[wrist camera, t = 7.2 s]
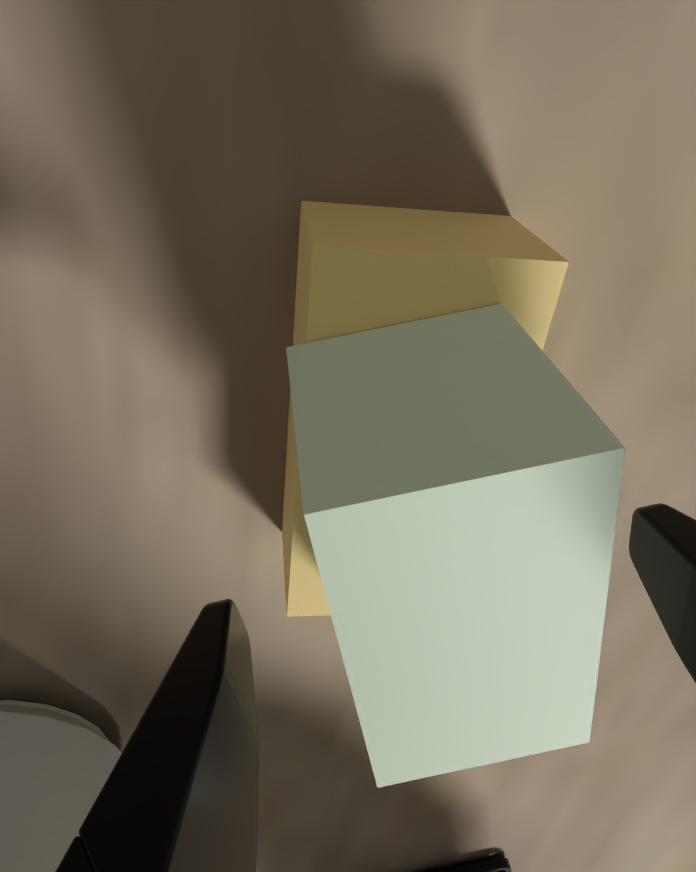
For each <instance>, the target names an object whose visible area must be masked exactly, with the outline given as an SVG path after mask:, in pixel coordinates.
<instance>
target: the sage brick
mask: <svg viewBox="0 0 696 872" xmlns="http://www.w3.org/2000/svg"><path fill="white" fill-rule="evenodd" d="M286 352H287V361H288V371H289V380H290V389H291V399H292V408H293V417H294V427H295V436H296V445H297V455H298V464H299V474H300V483H301V492H302V502H303V511H304V517H305V521H306V524H307V528H308V532H309V536H310V539H311V543H312V547H313V550H314V554H315V558H316V561H317V565H318V569H319V573H320V576H321V580H322V584H323V587H324V591H325V595H326V599H327V602H328V606H329V610H330V613H331V617H332V621H333V625H334V628H335V632H336V636H337V639H338V643H339V647H340V650H341V654H342V658H343V662H344V665H345V669H346V673H347V676H348V680H349V684H350V688H351V691H352V695H353V699H354V702H355V706H356V710H357V713H358V717H359V721H360V725H361V728H362V732H363V736H364V739H365V743H366V747H367V751H368V754H369V758H370V762H371V765H372V769H373V773H374V777H375V780H376V784H377V788H379V787H384V786H389V785H393V784H398V783H403V782H407V781H412V780H417V779H421V778H426V777H431V776H435V775H440V774H444V773H449V772H454V771H458V770H463V769H468V768H472V767H477V766H482V765H486V764H491V763H496V762H500V761H505V760H509V759H514V758H519V757H523V756H528V755H533V754H537V753H542V752H547V751H551V750H556V749H560V748H565V747H570V746H574V745H579V744H584V743H588V742H590V733H591V725H592V717H593V709H594V701H595V692H596V684H597V676H598V668H599V659H600V651H601V643H602V635H603V626H604V618H605V610H606V602H607V593H608V585H609V577H610V569H611V560H612V552H613V544H614V536H615V527H616V519H617V511H618V503H619V494H620V486H621V478H622V470H623V462H624V453H625V447H624V446H623V445H622V444H621V442H620V441H619V440H618V439H617V438H616V437H615V435H614V434H613V433H612V432H611V431H610V429H609V428H608V427H607V426H606V425H605V424H604V422H603V421H602V420H601V419H600V418H599V417H598V415H597V414H596V413H595V412H594V411H593V410H592V408H591V407H590V406H589V405H588V404H587V403H586V401H585V400H584V399H583V398H582V397H581V395H580V394H579V393H578V392H577V391H576V390H575V388H574V387H573V386H572V385H571V384H570V383H569V381H568V380H567V379H566V378H565V377H564V376H563V374H562V373H561V372H560V371H559V370H558V369H557V367H556V366H555V365H554V364H553V363H552V362H551V360H550V359H549V358H548V357H547V356H546V354H545V353H544V352H543V351H542V350H541V349H540V347H539V346H538V345H537V344H536V343H535V342H534V340H533V339H532V338H531V337H530V336H529V335H528V333H527V332H526V331H525V330H524V329H523V328H522V326H521V325H520V324H519V323H518V322H517V320H516V319H515V318H514V317H513V316H512V315H511V313H510V312H509V311H508V310H507V309H506V308H505V306H504V305H503V304H502V303H501V304H496V305H491V306H486V307H481V308H476V309H472V310H467V311H462V312H457V313H452V314H447V315H442V316H437V317H432V318H427V319H423V320H418V321H413V322H408V323H403V324H398V325H393V326H388V327H383V328H378V329H374V330H369V331H364V332H359V333H354V334H349V335H344V336H339V337H334V338H329V339H325V340H320V341H315V342H310V343H305V344H300V345H295V346H290V347H286Z"/></svg>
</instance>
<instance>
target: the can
mask: <svg viewBox="0 0 696 872" xmlns="http://www.w3.org/2000/svg"><path fill="white" fill-rule="evenodd" d="M121 754H122V753H121V752H120V750H119V749H118V748H117V747H116V746H115V745H114V744H113V743H111V742H110V741H109V739H108V738H107V737H106V736H105V735H104V733H103V732H102V731H101V730H100V728H99V727H97V726H96V725H94V724H92V723H91V722H89V721H87V720H86V719H84V718H82V717H81V716H79V715H77V714H75V713H72V712H69V711H66V710H63V709H60V708H57V707H53V706H50V705H47V704H40V703H32V702H24V701H16V700H1V701H0V872H55V871H56V869H57V868H58V866H59V864H60V862H61V861H62V859H63V857H64V855H65V853H66V852H67V850H68V848H69V846H70V844H71V843H72V841H73V839H74V838H75V837H76V836H80V835H79V829H80V827H81V825H82V823H83V822H84V820H85V818H86V816H87V815H88V813H89V811H90V809H91V807H92V806H93V804H94V802H95V800H96V798H97V797H98V795H99V793H100V791H101V789H102V788H103V786H104V784H105V782H106V781H107V779H108V777H109V775H110V773H111V772H112V770H113V768H114V766H115V764H116V763H117V761H118V759H119V757H120V755H121Z"/></svg>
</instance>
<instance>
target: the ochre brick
mask: <svg viewBox="0 0 696 872" xmlns="http://www.w3.org/2000/svg"><path fill="white" fill-rule="evenodd" d="M568 263H569V262H568V261H567V260H566V259H565V258H563V257H562V256H561V255H559V254H558V253H557V252H556V251H554V250H553V249H552V248H551V247H549V246H548V245H547V244H546V243H544V242H543V241H542V240H541V239H539V238H538V237H537V236H535V235H534V234H533V233H532V232H530V231H529V230H528V229H527V228H525V227H524V226H523V225H522V224H520V223H519V222H518V221H517V220H515V219H514V218H513V217H511V216H505V215H491V214H477V213H463V212H450V211H436V210H422V209H408V208H395V207H381V206H367V205H353V204H340V203H326V202H312V201H301V212H300V229H299V247H298V264H297V281H296V299H295V316H294V333H293V346H295V345H300V344H305V343H310V342H315V341H320V340H325V339H329V338H334V337H339V336H344V335H349V334H354V333H359V332H364V331H369V330H374V329H378V328H383V327H388V326H393V325H398V324H403V323H408V322H413V321H418V320H423V319H427V318H432V317H437V316H442V315H447V314H452V313H457V312H462V311H467V310H472V309H476V308H481V307H486V306H491V305H496V304H501V303H502V304H503V305H504V306H505V308H506V309H507V310H508V311H509V312H510V313H511V315H512V316H513V317H514V318H515V319H516V320H517V322H518V323H519V324H520V325H521V326H522V328H523V329H524V330H525V331H526V332H527V333H528V335H529V336H530V337H531V338H532V339H533V340H534V342H535V343H536V344H537V345H538V346H539V347H540V349H541V350H542V351H543V347H544V344H545V340H546V337H547V334H548V330H549V327H550V324H551V320H552V317H553V314H554V310H555V307H556V304H557V300H558V297H559V294H560V290H561V287H562V283H563V280H564V277H565V273H566V270H567V267H568ZM282 540H283V557H284V574H285V592H286V609H287V617H288V616H318V615H331V613H330V610H329V606H328V602H327V599H326V595H325V591H324V587H323V584H322V580H321V576H320V573H319V569H318V565H317V561H316V558H315V554H314V550H313V547H312V543H311V539H310V536H309V532H308V528H307V524H306V521H305V517H304V511H303V502H302V492H301V483H300V474H299V464H298V455H297V445H296V436H295V427H294V417H293V408H292V399H291V389H290V403H289V420H288V438H287V455H286V472H285V490H284V507H283V524H282Z"/></svg>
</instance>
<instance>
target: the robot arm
mask: <svg viewBox="0 0 696 872" xmlns="http://www.w3.org/2000/svg"><path fill="white" fill-rule="evenodd" d="M629 552H630V557H631V560H632V562H633V564H634V566H635V568H636V570H637V572H638V575H639V577H640V579H641V581H642V583H643V585H644V587H645V589H646V591H647V593H648V595H649V597H650V599H651V601H652V603H653V605H654V608H655V610H656V612H657V614H658V616H659V618H660V620H661V622H662V624H663V626H664V628H665V630H666V632H667V634H668V636H669V638H670V640H671V642H672V644H673V646H674V648H675V650H676V652H677V653H678V655H679V657H680V658H681V660H682V662H683V663H684V665H685V667H686V668H687V670H688V672H689V673H690V675H691V676H692V678H693V680H694V681H695V683H696V520H695V519H693V518H691V517H689V516H687V515H685V514H683V513H681V512H679V511H677V510H676V509H674V508H672V507H670V506H668V505H665V504H653V505H649V506H644V507H640V508H637V509H636V510H635V511H634V513H633V516H632V524H631V532H630V540H629ZM258 772H259V741H258V726H257V715H256V704H255V693H254V682H253V671H252V660H251V649H250V642H249V637H248V633H247V631H246V628H245V626H244V623H243V621H242V619H241V616H240V614H239V612H238V609H237V607H236V605H235V603H234V602H233V601H232V600H231V599H226V600H221V601H217V602H212V603H209V604H207V605H205V606H204V607H203V609H202V611H201V612H200V614H199V616H198V618H197V619H196V621H195V623H194V625H193V627H192V628H191V630H190V632H189V634H188V636H187V637H186V639H185V641H184V643H183V645H182V646H181V648H180V650H179V652H178V653H177V655H176V657H175V659H174V661H173V662H172V664H171V666H170V668H169V670H168V671H167V673H166V675H165V677H164V679H163V680H162V682H161V684H160V686H159V687H158V689H157V691H156V693H155V695H154V696H153V698H152V700H151V702H150V704H149V705H148V707H147V709H146V711H145V713H144V714H143V716H142V718H141V720H140V721H139V723H138V725H137V727H136V729H135V730H134V732H133V734H132V736H131V738H130V739H129V741H128V743H127V745H126V747H125V748H124V750H123V752H122V754H121V755H120V757H119V759H118V761H117V763H116V764H115V766H114V768H113V770H112V772H111V773H110V775H109V777H108V779H107V781H106V782H105V784H104V786H103V788H102V789H101V791H100V793H99V795H98V797H97V798H96V800H95V802H94V804H93V806H92V807H91V809H90V811H89V813H88V815H87V816H86V818H85V820H84V822H83V823H82V825H81V827H80V829H79V835H80V836H76V837H75V838H74V839H73V841H72V843H71V844H70V846H69V848H68V850H67V852H66V853H65V855H64V857H63V859H62V861H61V862H60V864H59V866H58V868H57V869H56V871H55V872H256V855H257V813H258ZM438 872H511V868H510V864H509V861H508V859H507V858H496V859H491V860H487V861H482V862H478V863H474V864H469V865H465V866H460V867H456V868H451V869H447V870H443V871H438Z"/></svg>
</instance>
